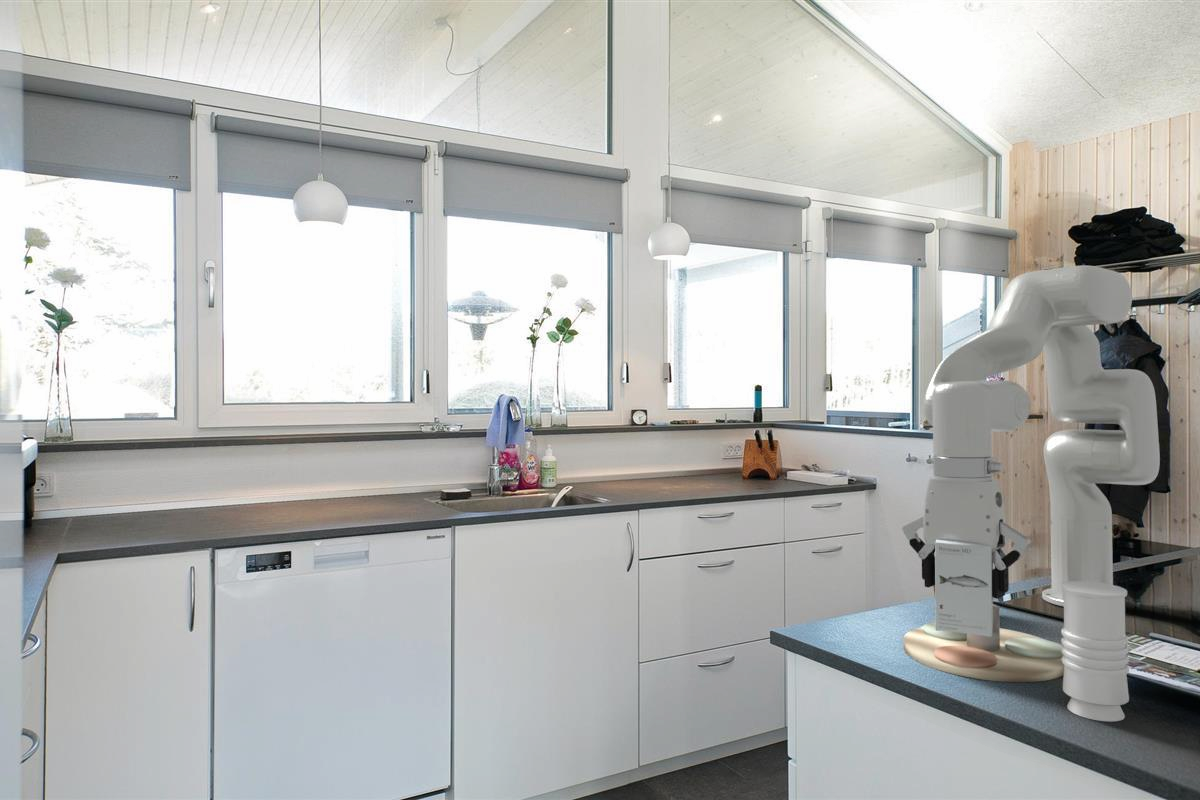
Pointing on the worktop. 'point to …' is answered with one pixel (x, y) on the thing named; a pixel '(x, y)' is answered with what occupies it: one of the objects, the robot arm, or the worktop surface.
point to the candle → (1095, 649)
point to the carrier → (986, 653)
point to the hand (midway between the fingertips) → (964, 590)
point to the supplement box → (963, 588)
